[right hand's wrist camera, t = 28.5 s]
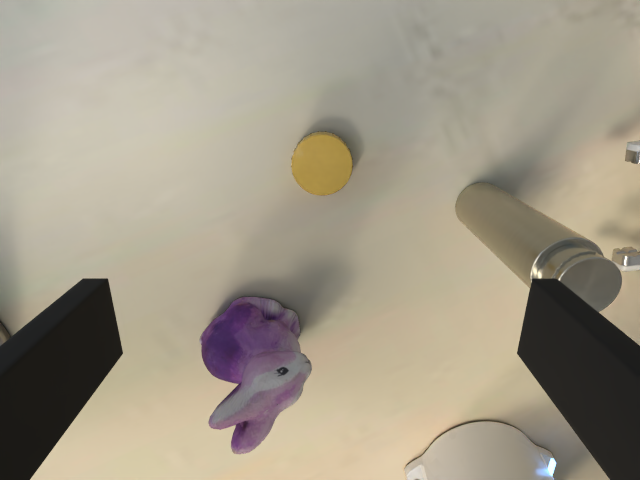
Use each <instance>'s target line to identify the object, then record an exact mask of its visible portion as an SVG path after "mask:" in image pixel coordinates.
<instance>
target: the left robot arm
mask: <svg viewBox="0 0 640 480" xmlns="http://www.w3.org/2000/svg"><path fill="white" fill-rule="evenodd" d="M625 161H627V162H630V161H631V163H635V164H640V141H634V142H628V143H627V147H626V156H625ZM612 262H613V263H614V264H616V266H617V267H618V268H619V270H621V271H635V270H640V251H639V252H638V251H637V250H636V249H635V248H633V247H624V248H622V249H619V248H616V249H614V250H613V256H612ZM555 465H556V462H555V459H554V457H553V455H552V453H551V452H550V451H548V450H546V449H544V448H541V447H539V446H536V445H534V444H533V443H532V442H531V441H530V440H529V439H528V438H527V436H526V435H525V434H523V433H522V432H521V431H519V430H518V429H516V428H514V427H512V426H510V425H507V424H503V423H498V422H488V421H485V422H474V423H468V424H465V425H461V426H458V427H456V428H453V429H451V430H449V431H448V432H446V433H444V434H443V435H441V436H440V437H439V438H437V439H436V440H435V441H434V442H433V443H432V444H431V446H430V447H429V448H428V449H427V451H426V452H425V453H424V454H423V455H422V456H421V457H419V458H417V459H416V460H414V461H412V462H411V463H409V464H408V465H407V466H406V467H405V470H404V472H405V475H406V478H407V480H555V479H554V477H553V472H554V469H555Z"/></svg>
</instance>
